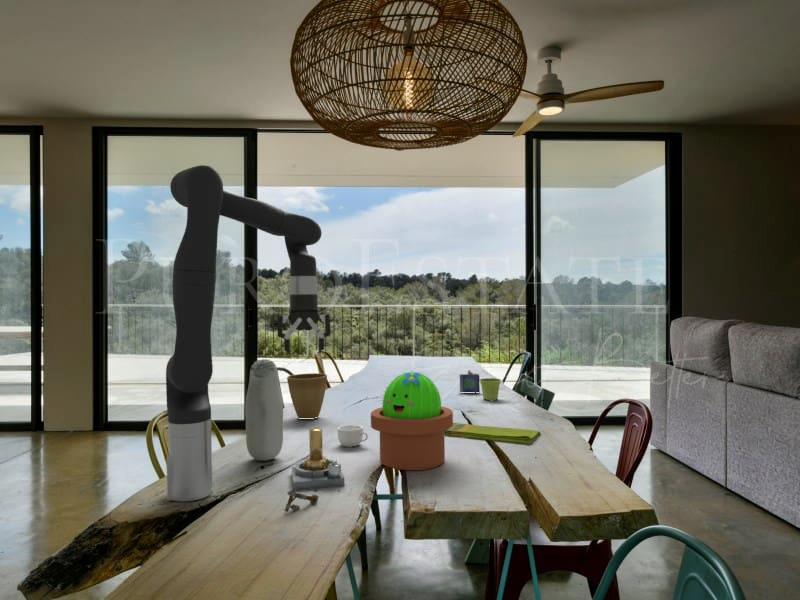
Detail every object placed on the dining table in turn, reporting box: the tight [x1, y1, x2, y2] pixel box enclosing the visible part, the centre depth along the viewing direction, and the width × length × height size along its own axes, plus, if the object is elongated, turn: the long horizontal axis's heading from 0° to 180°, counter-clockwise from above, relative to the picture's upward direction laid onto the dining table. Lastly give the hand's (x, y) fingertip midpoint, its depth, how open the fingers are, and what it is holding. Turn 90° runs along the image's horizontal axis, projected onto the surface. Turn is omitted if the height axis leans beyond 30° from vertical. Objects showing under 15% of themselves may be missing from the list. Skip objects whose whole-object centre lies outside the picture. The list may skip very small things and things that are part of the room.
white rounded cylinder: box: [244, 359, 284, 462], centre depth 152 cm, size 10×10×28 cm
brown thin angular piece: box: [284, 488, 320, 513], centre depth 116 cm, size 2×8×4 cm, turn 138°
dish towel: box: [444, 422, 541, 445], centre depth 178 cm, size 15×36×3 cm, turn 63°
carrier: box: [291, 458, 345, 491], centre depth 135 cm, size 12×13×6 cm
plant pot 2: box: [479, 377, 502, 401], centre depth 237 cm, size 9×9×9 cm
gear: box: [303, 427, 329, 471], centre depth 136 cm, size 6×6×10 cm
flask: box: [459, 369, 481, 393], centre depth 254 cm, size 9×3×11 cm, turn 84°
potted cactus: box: [370, 370, 454, 471], centre depth 149 cm, size 22×22×25 cm
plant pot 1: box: [286, 373, 328, 418], centre depth 205 cm, size 15×15×16 cm
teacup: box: [337, 424, 369, 448], centre depth 165 cm, size 10×8×5 cm
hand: (304, 352), depth 148 cm, fingers open, 8 cm apart
